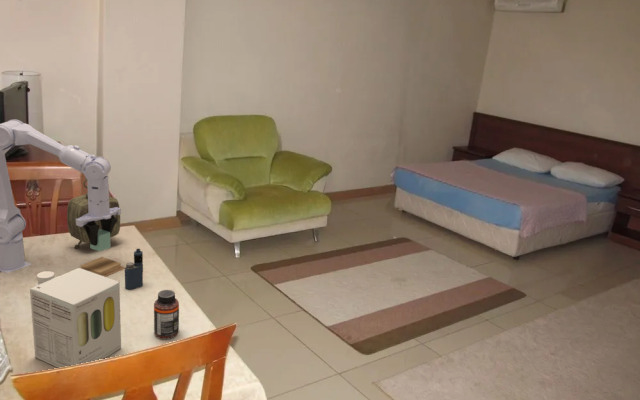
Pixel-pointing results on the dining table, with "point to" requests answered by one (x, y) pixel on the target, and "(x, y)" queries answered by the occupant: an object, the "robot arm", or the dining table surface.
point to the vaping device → (134, 272)
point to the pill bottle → (44, 277)
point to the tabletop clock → (79, 209)
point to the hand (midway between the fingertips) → (100, 242)
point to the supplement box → (76, 318)
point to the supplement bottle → (166, 315)
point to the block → (102, 241)
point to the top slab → (101, 266)
